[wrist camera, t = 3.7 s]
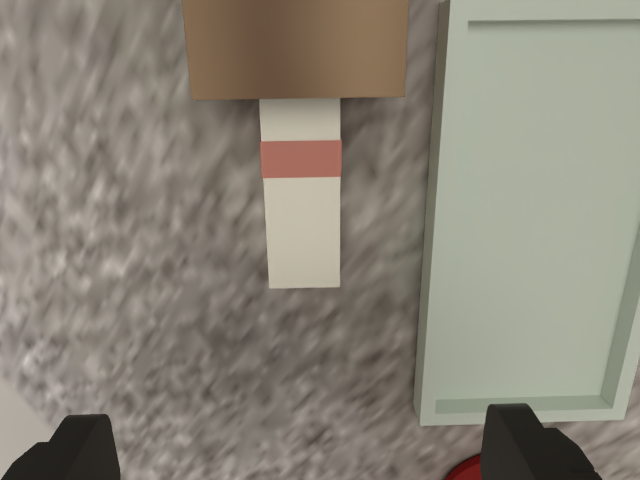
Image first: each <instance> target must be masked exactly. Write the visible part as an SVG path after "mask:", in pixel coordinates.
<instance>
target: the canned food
mask: <svg viewBox="0 0 640 480" xmlns="http://www.w3.org/2000/svg"><path fill="white" fill-rule="evenodd" d="M480 457H481V455H478V456H475V457H473V458H471V459H469V460H467V461H465V462H463V463H462V464H460V465H459V466H457V467H456V468H455V469H454V470H453V471H452V472H451V473H450V474H449V475H448V476H447V478H446V479H445V480H482V479H481V472H480Z"/></svg>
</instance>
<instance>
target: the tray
mask: <svg viewBox="0 0 640 480" xmlns="http://www.w3.org/2000/svg"><path fill="white" fill-rule="evenodd" d="M639 357H640V0H448V1H445V2H442V3H440V4H439V18H438V33H437V49H436V64H435V79H434V94H433V109H432V125H431V140H430V155H429V170H428V185H427V201H426V216H425V231H424V246H423V261H422V277H421V292H420V307H419V322H418V337H417V353H416V368H415V383H414V398H413V406H414V409H415V413H416V416H417V419H418V422H419V426H436V425H470V424H485V419H486V412H487V408H488V406H489V405H490V404H507V403H526V404H528V405H529V406H530V407H531V409H532V410H533V412H534V413H535V415H536V416H537V418H538V419H539V421H540V422H569V421H603V420H624V417H625V413H626V409H627V405H628V401H629V397H630V393H631V389H632V385H633V381H634V377H635V373H636V369H637V365H638V361H639Z"/></svg>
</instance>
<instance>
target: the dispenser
mask: <svg viewBox="0 0 640 480" xmlns="http://www.w3.org/2000/svg"><path fill="white" fill-rule="evenodd" d="M182 8H183V18H184V28H185V38H186V48H187V58H188V68H189V78H190V88H191V98H192V100H227V99H293V98H359V97H405V77H406V55H407V34H408V12H409V0H182Z"/></svg>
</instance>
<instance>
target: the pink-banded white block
mask: <svg viewBox="0 0 640 480" xmlns="http://www.w3.org/2000/svg"><path fill="white" fill-rule="evenodd" d="M259 107H260V126H261V141H260V155H261V173H262V178H263V181H264V200H265V219H266V237H267V256H268V275H269V289H274V288H317V287H340V177H342V140H341V138H340V98H293V99H259Z"/></svg>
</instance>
